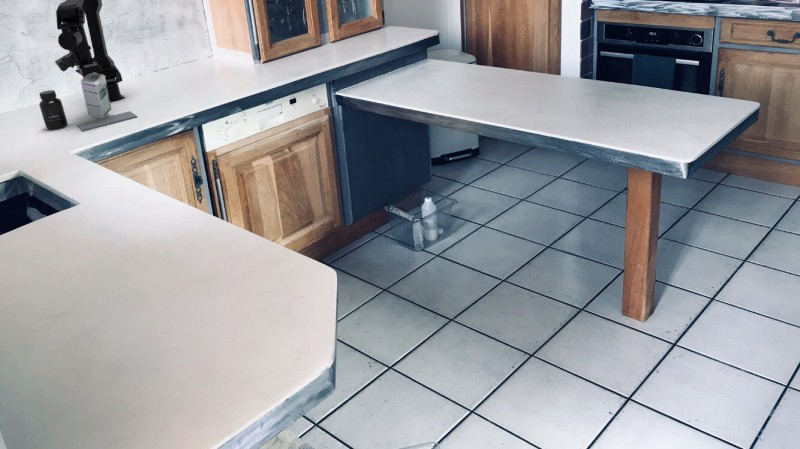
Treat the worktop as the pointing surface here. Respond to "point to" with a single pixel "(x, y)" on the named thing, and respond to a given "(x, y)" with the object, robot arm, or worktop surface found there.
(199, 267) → the worktop surface
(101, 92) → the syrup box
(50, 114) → the supplement bottle
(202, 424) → the worktop surface
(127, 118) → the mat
